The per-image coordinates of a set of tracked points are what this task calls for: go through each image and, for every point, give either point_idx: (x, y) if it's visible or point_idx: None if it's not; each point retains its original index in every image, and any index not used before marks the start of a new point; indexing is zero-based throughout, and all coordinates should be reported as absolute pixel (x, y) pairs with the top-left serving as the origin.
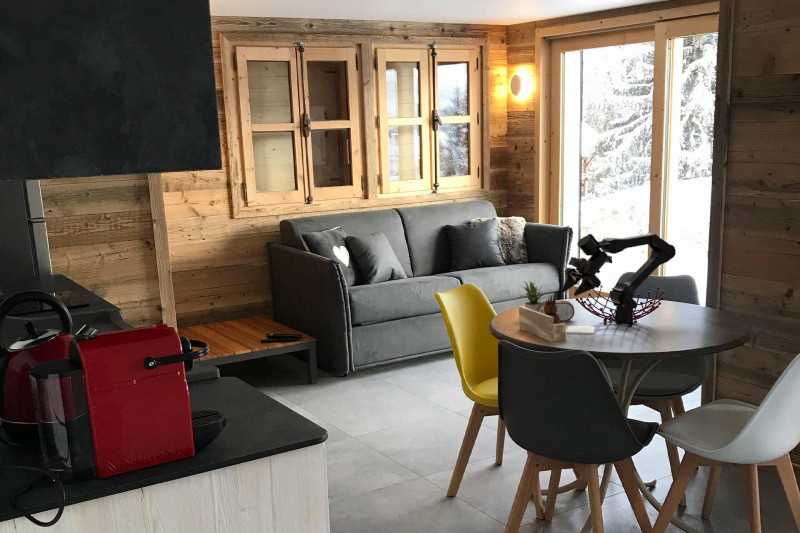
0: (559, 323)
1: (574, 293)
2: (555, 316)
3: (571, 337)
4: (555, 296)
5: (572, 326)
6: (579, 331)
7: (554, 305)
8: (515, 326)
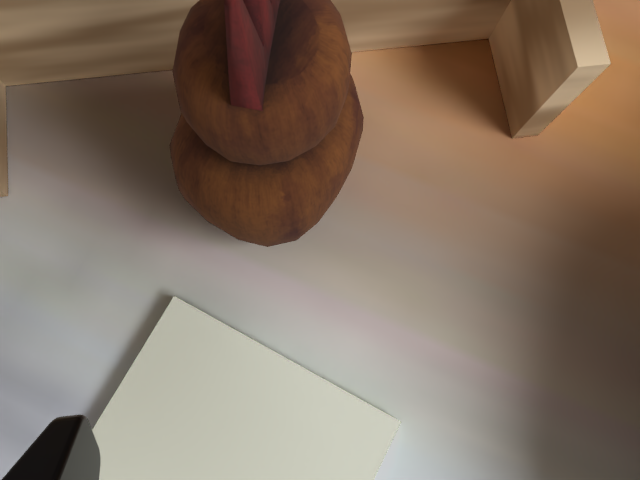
0: (213, 223)
1: (47, 432)
2: (183, 139)
3: (25, 278)
4: (226, 30)
5: (370, 450)
6: (139, 423)
7: (193, 73)
8: (599, 17)
